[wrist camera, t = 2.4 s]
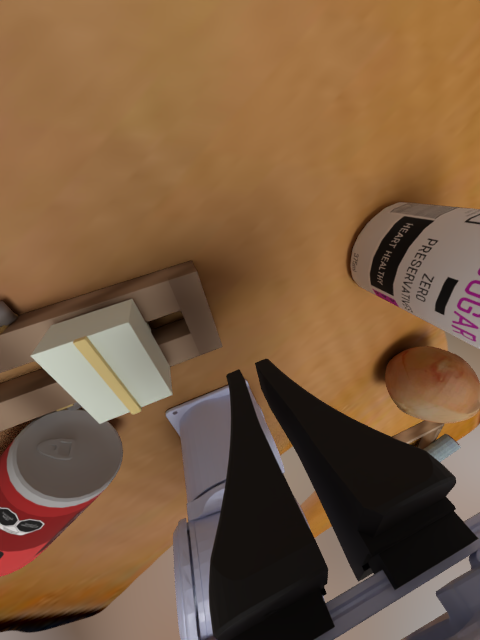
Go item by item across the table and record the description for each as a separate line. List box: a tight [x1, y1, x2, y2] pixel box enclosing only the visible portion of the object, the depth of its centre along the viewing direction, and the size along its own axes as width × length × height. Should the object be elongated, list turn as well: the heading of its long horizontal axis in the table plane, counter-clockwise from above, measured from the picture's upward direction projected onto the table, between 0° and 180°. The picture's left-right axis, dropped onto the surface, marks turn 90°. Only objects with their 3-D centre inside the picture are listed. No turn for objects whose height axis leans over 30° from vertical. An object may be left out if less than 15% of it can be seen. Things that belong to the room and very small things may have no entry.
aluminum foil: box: [423, 434, 460, 462], centre depth 55 cm, size 23×7×3 cm, turn 130°
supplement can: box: [350, 202, 480, 349], centre depth 17 cm, size 8×8×15 cm
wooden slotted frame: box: [0, 261, 222, 431], centre depth 17 cm, size 26×10×2 cm, turn 102°
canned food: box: [0, 409, 123, 577], centre depth 19 cm, size 8×8×11 cm
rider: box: [31, 299, 173, 424], centre depth 16 cm, size 5×6×6 cm
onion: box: [385, 346, 480, 423], centre depth 30 cm, size 10×10×10 cm
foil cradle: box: [393, 421, 445, 449], centre depth 58 cm, size 12×28×2 cm, turn 12°
